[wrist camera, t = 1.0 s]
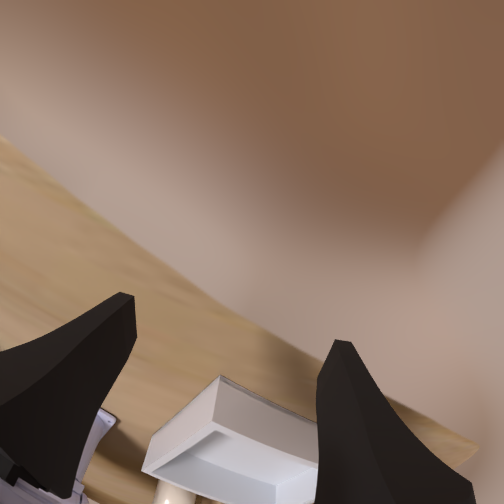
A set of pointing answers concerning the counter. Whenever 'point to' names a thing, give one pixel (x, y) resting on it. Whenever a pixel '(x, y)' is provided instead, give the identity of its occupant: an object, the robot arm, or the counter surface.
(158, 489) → the cream cylinder
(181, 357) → the counter surface
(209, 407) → the box
